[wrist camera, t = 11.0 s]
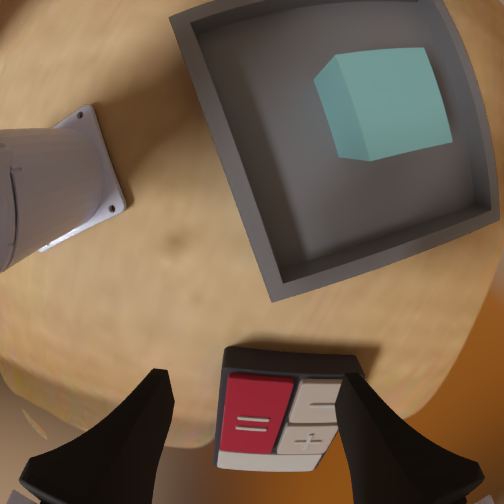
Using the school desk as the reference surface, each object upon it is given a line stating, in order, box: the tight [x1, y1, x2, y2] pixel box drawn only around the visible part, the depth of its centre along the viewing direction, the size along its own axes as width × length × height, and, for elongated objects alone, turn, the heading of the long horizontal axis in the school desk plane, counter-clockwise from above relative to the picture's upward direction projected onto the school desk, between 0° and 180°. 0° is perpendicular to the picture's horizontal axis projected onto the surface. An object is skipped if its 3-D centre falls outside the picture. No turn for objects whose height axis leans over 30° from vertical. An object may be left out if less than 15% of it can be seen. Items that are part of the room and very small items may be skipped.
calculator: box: [213, 347, 365, 471], centre depth 23 cm, size 11×4×15 cm
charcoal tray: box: [169, 0, 500, 302], centre depth 14 cm, size 18×18×2 cm
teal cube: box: [314, 48, 453, 161], centre depth 13 cm, size 5×5×5 cm
